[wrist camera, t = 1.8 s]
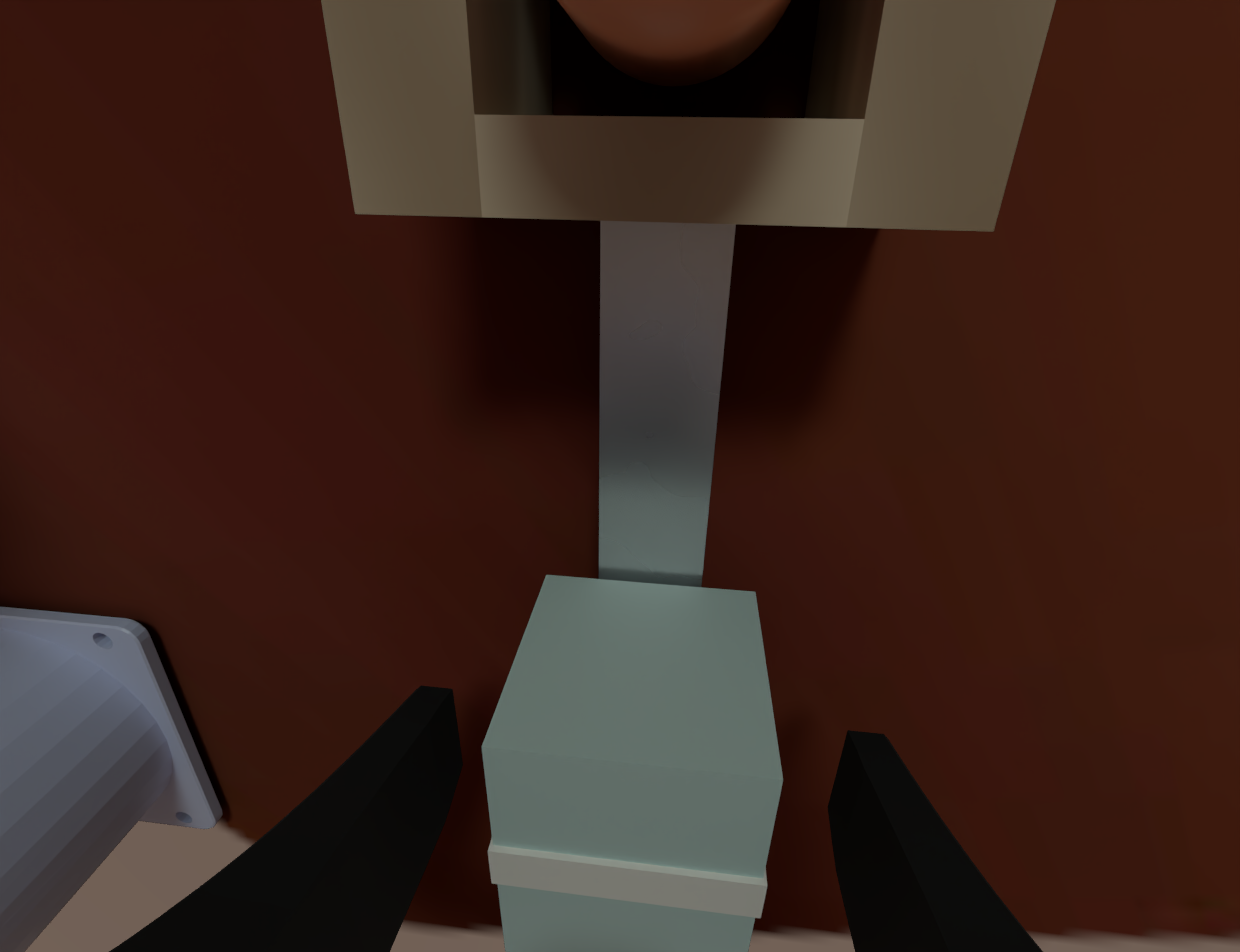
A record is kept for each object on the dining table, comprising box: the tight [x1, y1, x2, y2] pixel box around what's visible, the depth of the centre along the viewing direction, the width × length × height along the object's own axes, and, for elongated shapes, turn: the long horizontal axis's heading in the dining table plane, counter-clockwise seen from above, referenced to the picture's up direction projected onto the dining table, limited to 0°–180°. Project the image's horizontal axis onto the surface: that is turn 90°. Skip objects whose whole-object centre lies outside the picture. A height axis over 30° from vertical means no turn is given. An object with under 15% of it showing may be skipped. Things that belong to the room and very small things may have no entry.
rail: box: [599, 221, 736, 587], centre depth 12 cm, size 4×13×3 cm, turn 179°
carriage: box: [482, 575, 783, 952], centre depth 11 cm, size 4×5×4 cm
